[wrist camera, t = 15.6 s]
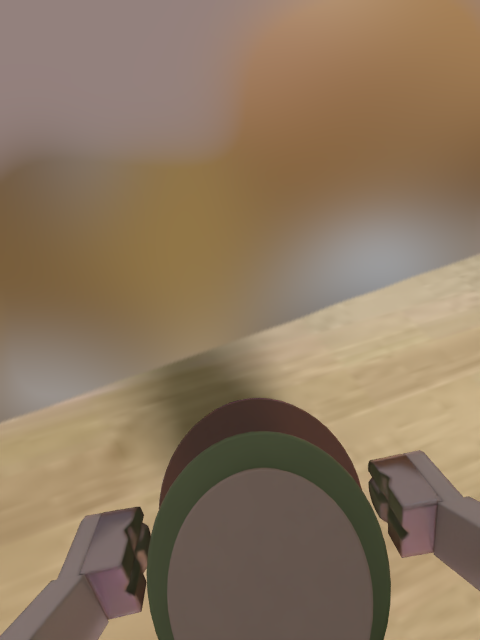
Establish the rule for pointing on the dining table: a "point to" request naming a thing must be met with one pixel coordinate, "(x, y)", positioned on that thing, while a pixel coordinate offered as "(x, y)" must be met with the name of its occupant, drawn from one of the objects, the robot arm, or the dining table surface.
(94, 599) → the robot arm
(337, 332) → the dining table surface
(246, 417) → the plum jar
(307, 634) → the green shaker
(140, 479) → the dining table surface
